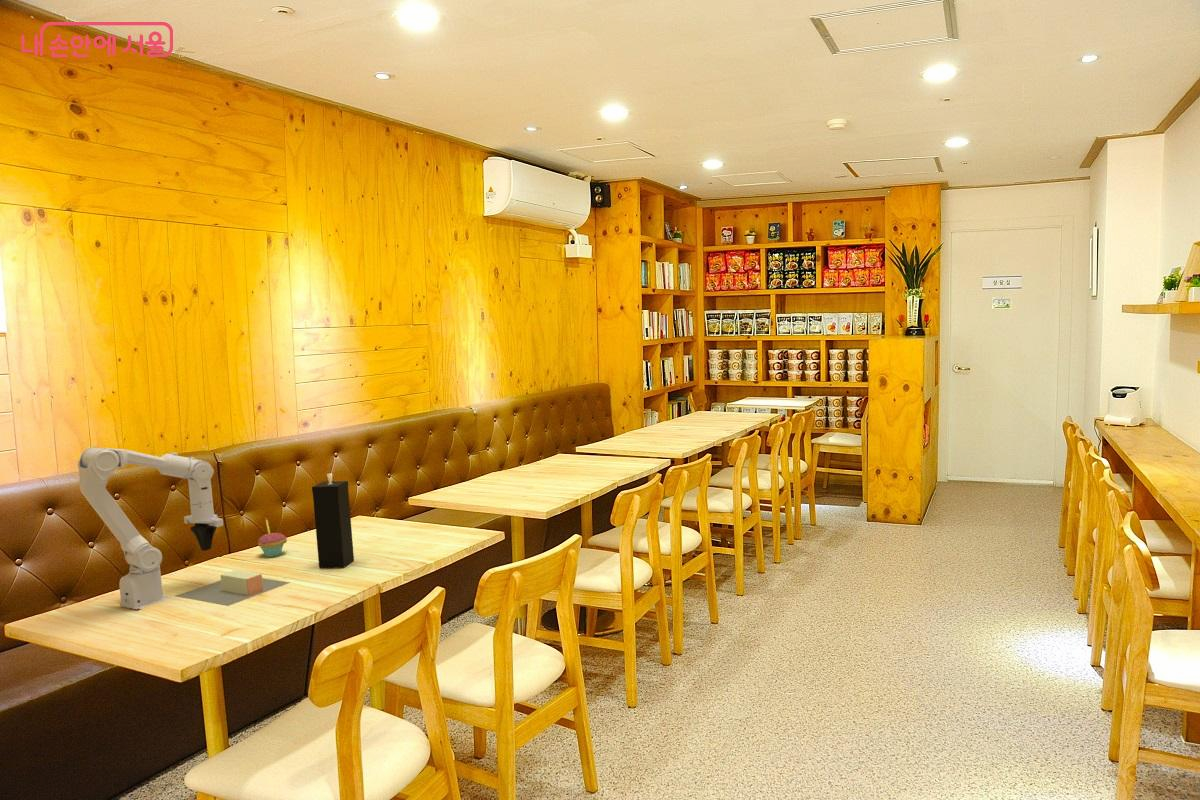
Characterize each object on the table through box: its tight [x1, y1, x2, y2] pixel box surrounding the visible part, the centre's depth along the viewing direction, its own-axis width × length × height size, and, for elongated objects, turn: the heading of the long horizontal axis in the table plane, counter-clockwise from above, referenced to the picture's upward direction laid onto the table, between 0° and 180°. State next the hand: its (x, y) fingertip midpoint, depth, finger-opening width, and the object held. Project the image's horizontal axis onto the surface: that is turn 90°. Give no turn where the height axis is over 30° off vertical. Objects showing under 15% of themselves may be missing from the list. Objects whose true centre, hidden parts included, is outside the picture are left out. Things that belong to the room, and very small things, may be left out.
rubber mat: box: [175, 577, 291, 607], centre depth 228 cm, size 20×22×1 cm
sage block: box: [220, 569, 263, 595], centre depth 226 cm, size 4×4×11 cm
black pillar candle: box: [311, 472, 355, 569], centre depth 247 cm, size 8×8×28 cm
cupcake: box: [257, 518, 288, 558], centre depth 263 cm, size 9×8×12 cm
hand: (206, 549), depth 233 cm, fingers closed
